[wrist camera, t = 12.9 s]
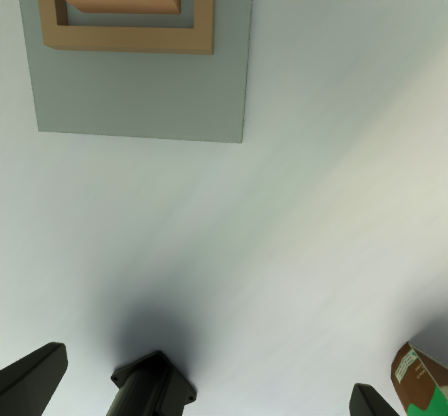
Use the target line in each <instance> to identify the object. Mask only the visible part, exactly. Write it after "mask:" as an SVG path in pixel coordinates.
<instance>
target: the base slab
mask: <svg viewBox="0 0 448 416" xmlns="http://www.w3.org/2000/svg"><path fill="white" fill-rule="evenodd" d="M19 2H20V8H21V15H22V22H23V29H24V35H25V42H26V49H27V56H28V63H29V69H30V76H31V83H32V90H33V96H34V103H35V110H36V117H37V124H38V130H39V131H44V132H61V133H77V134H94V135H110V136H126V137H143V138H159V139H176V140H192V141H209V142H225V143H242V136H243V122H244V108H245V95H246V81H247V67H248V53H249V40H250V26H251V12H252V0H181V15H179V14H113V13H82V12H81V11H79V10H78V9H77V8H75V7H74V6H72V5H71V4H70V3H68V2H67V1H65V0H19Z"/></svg>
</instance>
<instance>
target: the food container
mask: <svg viewBox="0 0 448 416" xmlns="http://www.w3.org/2000/svg"><path fill="white" fill-rule="evenodd" d="M391 380H392V383H393V385H394V388H395V390H396V393H397V395H398V397H399V399H400V401H401V403H402V405H403V408H404V410H405V412H406V414H407V416H448V367H447V366H446V365H444V364H442V363H441V362H439V361H438V360H436V359H434V358H433V357H431V356H429V355H428V354H426V353H425V352H423V351H421V350H420V349H418V348H416V347H415V346H413V345H412V344H410V343H408V342H407V343H406V344H405V345H404V346H403V347H402V348H401V349H400V350H399V351H398V353H397V355H396V357H395V359H394V361H393V363H392V367H391Z"/></svg>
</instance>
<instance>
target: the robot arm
mask: <svg viewBox="0 0 448 416" xmlns="http://www.w3.org/2000/svg"><path fill="white" fill-rule="evenodd" d="M67 366H68V359H67V353H66V346H65V345H64V344H63V343H58V342H50V343H48V344H46V345H44V346H43V347H41V348H39V349H37V350H36V351H34V352H32V353H30V354H28V355H27V356H25V357H23V358H21V359H20V360H18V361H16V362H14V363H12V364H11V365H9V366H7V367H5V368H4V369H2V370H0V416H41V415H42V413H43V412H44V410H45V408H46V406H47V404H48V403H49V401H50V399H51V397H52V395H53V394H54V392H55V390H56V388H57V386H58V384H59V383H60V381H61V379H62V377H63V375H64V374H65V372H66V370H67ZM111 380H112V381H113V382H114V383H115V385H116V386H117V387H118V388H119V391H118V393H117V395H116V397H115V399H114V401H113V403H112V405H111V407H110V409H109V411H108V413H107V415H106V416H182V414H183V410H184V406H185V405H187V404H189V403H192V402H194V401H195V400H196V397H197V393H196V392H195V391H194V389H193V388H192V387H191V386H190V385H189V383H188V382H187V381H186V380H185V379H184V378H183V376H182V375H181V374H180V373H179V372H178V370H177V369H176V368H175V367H174V366H173V364H172V363H171V362H170V361H169V360H168V358H167V357H166V356H165V355H164V354H163V353H162V352H161V351H156V352H153V353H151V354H149V355H147V356H145V357H143V358H141V359H139V360H137V361H135V362H133V363H131V364H129V365H127V366H125V367H123V368H121V369H119V370H117V371H115V372H113V374H112V376H111ZM349 410H350V416H400V415H399V414H398V413H397V412H396V411H395V410H394V409H393V408H392V407H391V406H390V405H389V404H388V403H387V402H386V401H385V399H384V398H383V397H382V396H381V395H380V394H379V393H378V392H377V391H376V390H375V389H374V388H373V387H372V386H371V385H368V384H361V383H356V384H355V385H354V388H353V391H352V395H351V399H350V403H349Z"/></svg>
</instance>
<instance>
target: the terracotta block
mask: <svg viewBox="0 0 448 416" xmlns="http://www.w3.org/2000/svg"><path fill="white" fill-rule="evenodd" d="M65 1H67V2H68V3H70V4H71V5H72V6H74V7H75V8H77V9H78V10H79V11H81V12H82V13H113V14H179V15H181V0H65Z"/></svg>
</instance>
